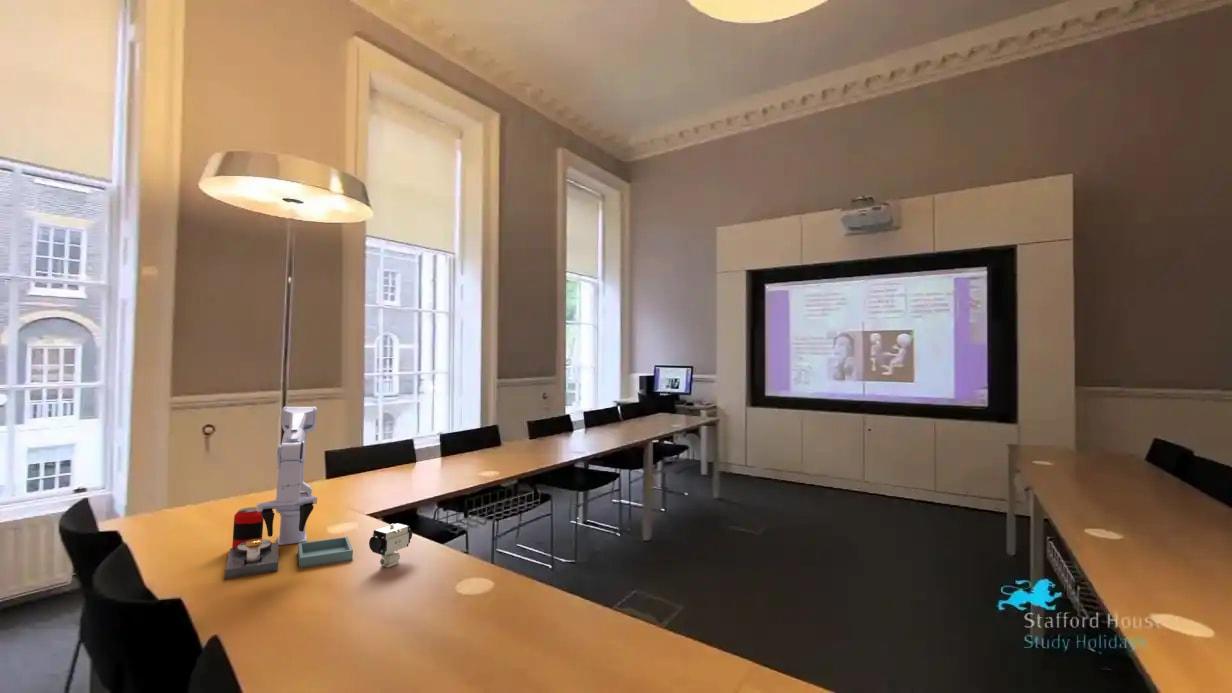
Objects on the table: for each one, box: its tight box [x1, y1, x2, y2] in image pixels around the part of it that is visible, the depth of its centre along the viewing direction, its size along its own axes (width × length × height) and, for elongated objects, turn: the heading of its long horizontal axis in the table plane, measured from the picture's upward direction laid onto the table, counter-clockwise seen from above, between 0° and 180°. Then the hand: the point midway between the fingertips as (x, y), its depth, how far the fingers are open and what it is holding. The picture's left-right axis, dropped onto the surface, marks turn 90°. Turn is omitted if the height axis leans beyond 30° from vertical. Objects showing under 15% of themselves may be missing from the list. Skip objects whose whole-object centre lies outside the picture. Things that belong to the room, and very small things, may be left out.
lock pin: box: [246, 538, 263, 564], centre depth 146 cm, size 4×4×8 cm
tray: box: [297, 536, 354, 569], centre depth 157 cm, size 14×14×3 cm
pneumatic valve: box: [368, 522, 413, 569], centre depth 153 cm, size 6×12×12 cm, turn 152°
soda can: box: [231, 506, 264, 548], centre depth 161 cm, size 8×8×12 cm
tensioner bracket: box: [224, 538, 279, 580], centre depth 150 cm, size 18×12×6 cm, turn 33°
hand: (285, 533), depth 146 cm, fingers open, 7 cm apart
